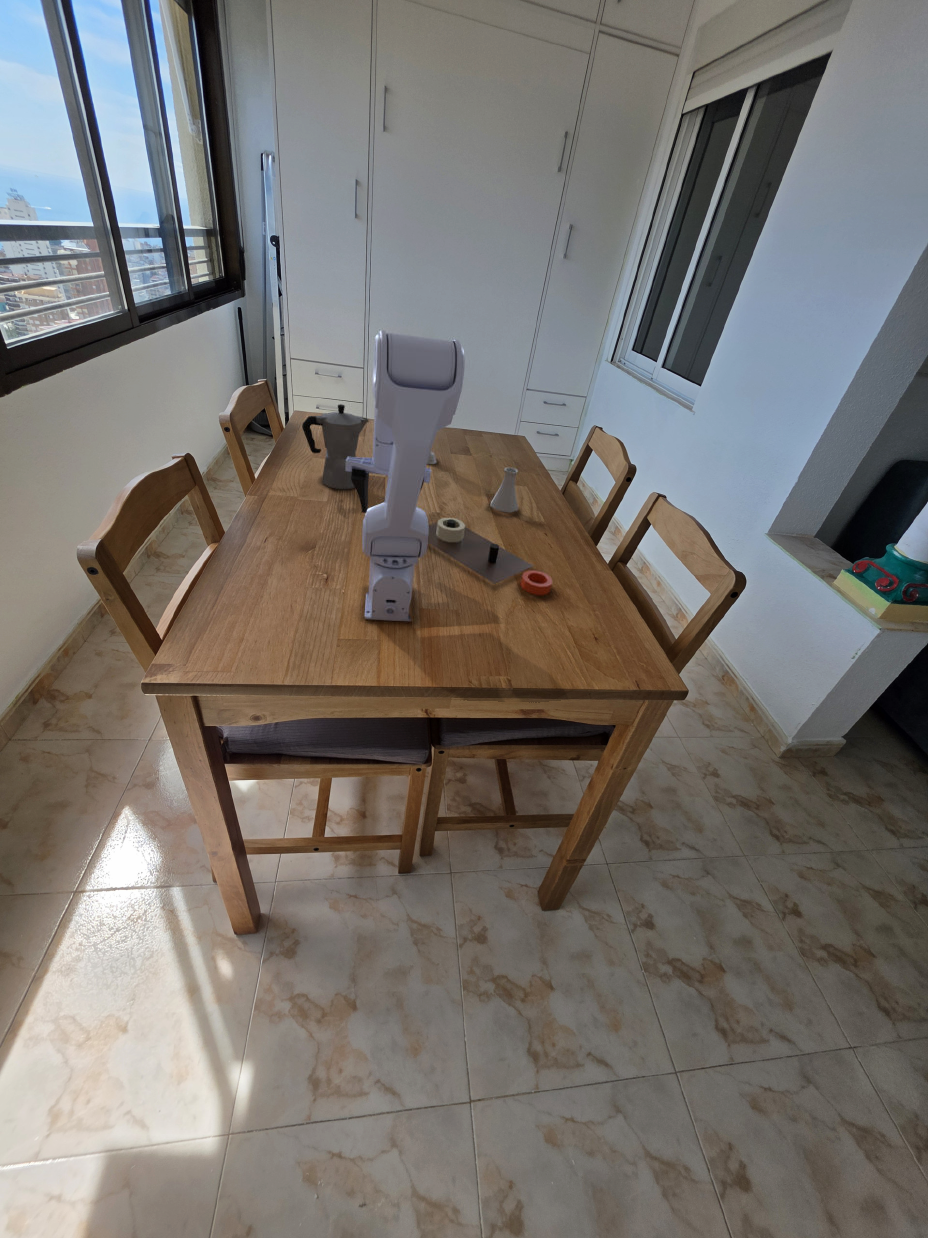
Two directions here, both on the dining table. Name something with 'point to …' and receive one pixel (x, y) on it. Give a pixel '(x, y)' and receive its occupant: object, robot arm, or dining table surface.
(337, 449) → the coffeepot
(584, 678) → the dining table surface
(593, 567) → the dining table surface
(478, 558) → the ring board
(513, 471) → the flask
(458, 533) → the cream ring
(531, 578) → the red ring
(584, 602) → the dining table surface
